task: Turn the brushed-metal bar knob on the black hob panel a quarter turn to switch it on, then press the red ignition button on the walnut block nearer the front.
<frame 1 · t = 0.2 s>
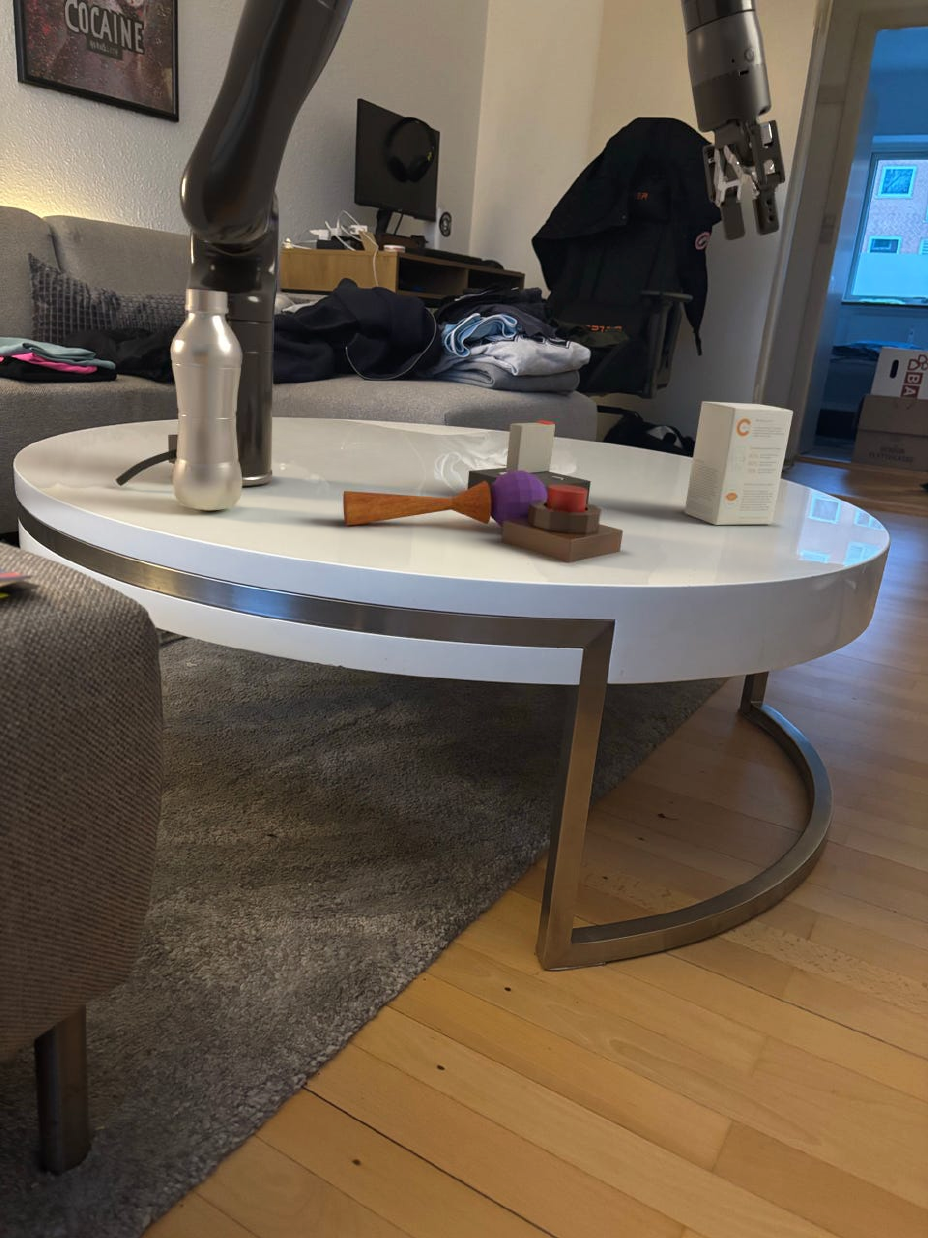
hand: (751, 236, 101), 31 cm above the table, tool tilted 20°, fingers open, 8 cm apart
small box: (726, 520, 106), on the table
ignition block: (560, 548, 86), on the table
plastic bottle: (207, 511, 89), on the table
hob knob: (530, 446, 107), point 6 cm above the table, hinge at 0.0°
ignition button: (566, 499, 84), point 5 cm above the table, slide at 0.2 cm
kendama: (445, 530, 90), on the table
hob panel: (527, 501, 106), on the table
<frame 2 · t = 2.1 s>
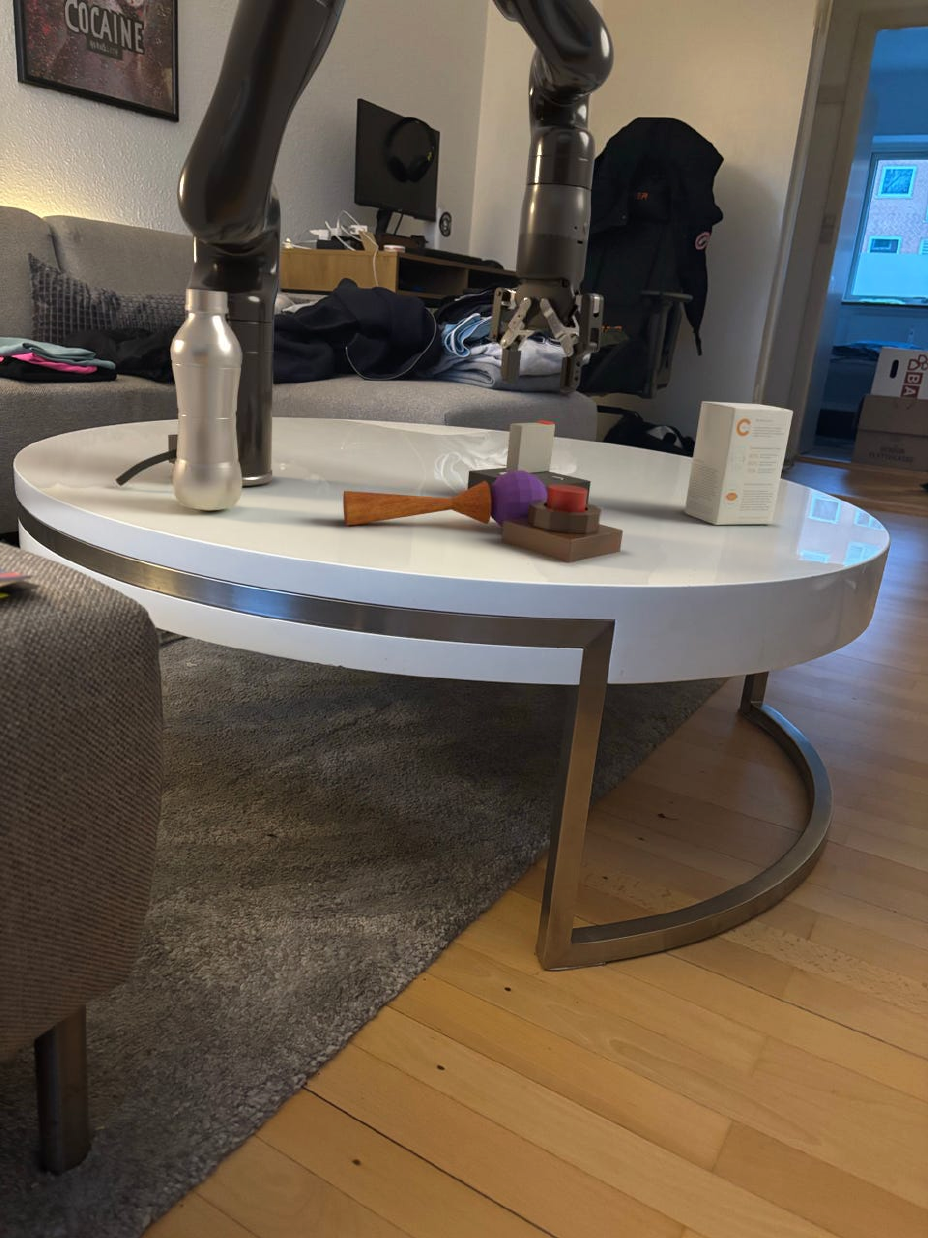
hand: (538, 387, 105), 13 cm above the table, tool pointing down, fingers open, 8 cm apart
nothing on the table moved.
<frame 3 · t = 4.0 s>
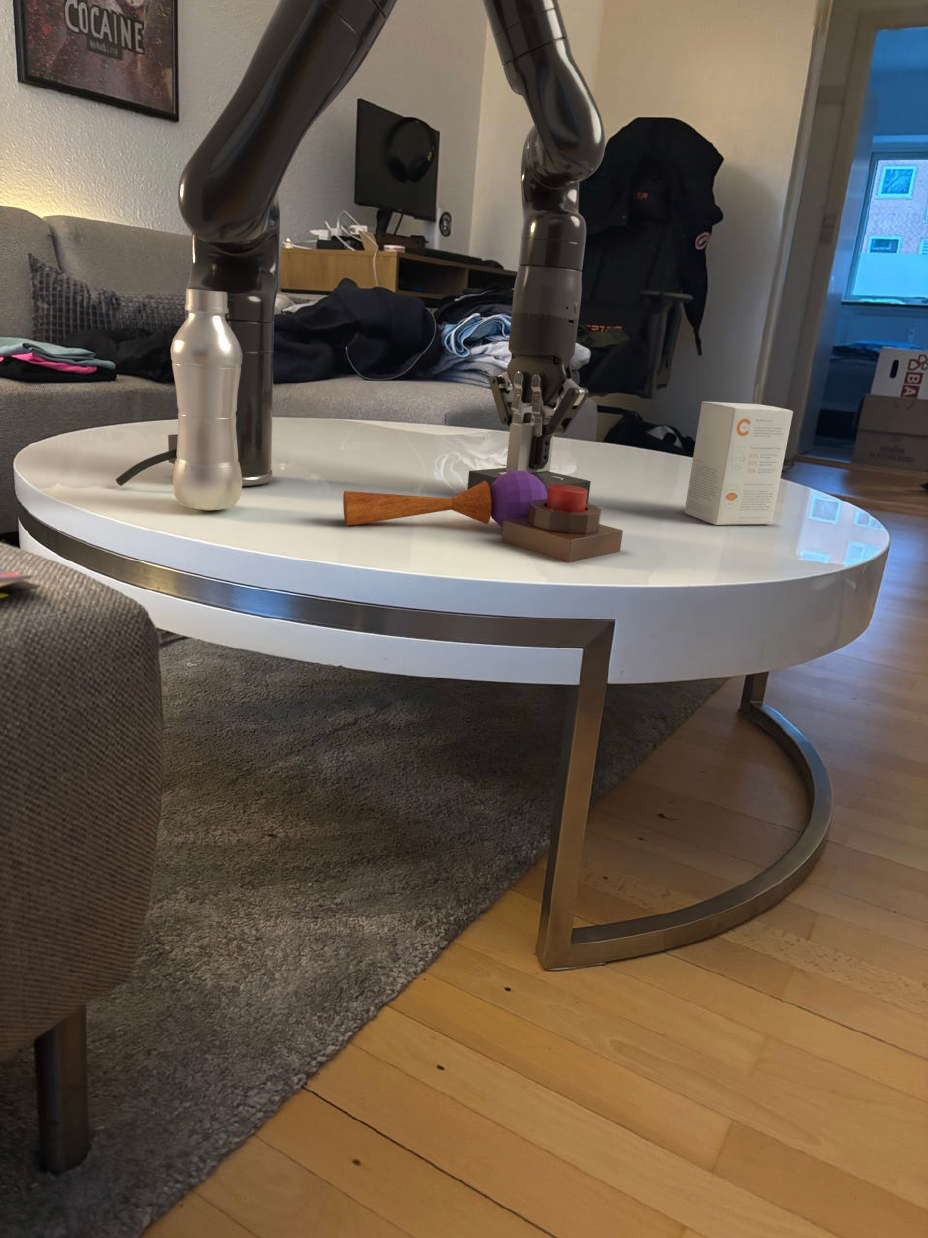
hand: (528, 466, 107), 4 cm above the table, tool pointing down, fingers closed on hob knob, 2 cm apart
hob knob: (530, 446, 107), point 6 cm above the table, hinge at 0.0°, touching gripper
everything else where it was.
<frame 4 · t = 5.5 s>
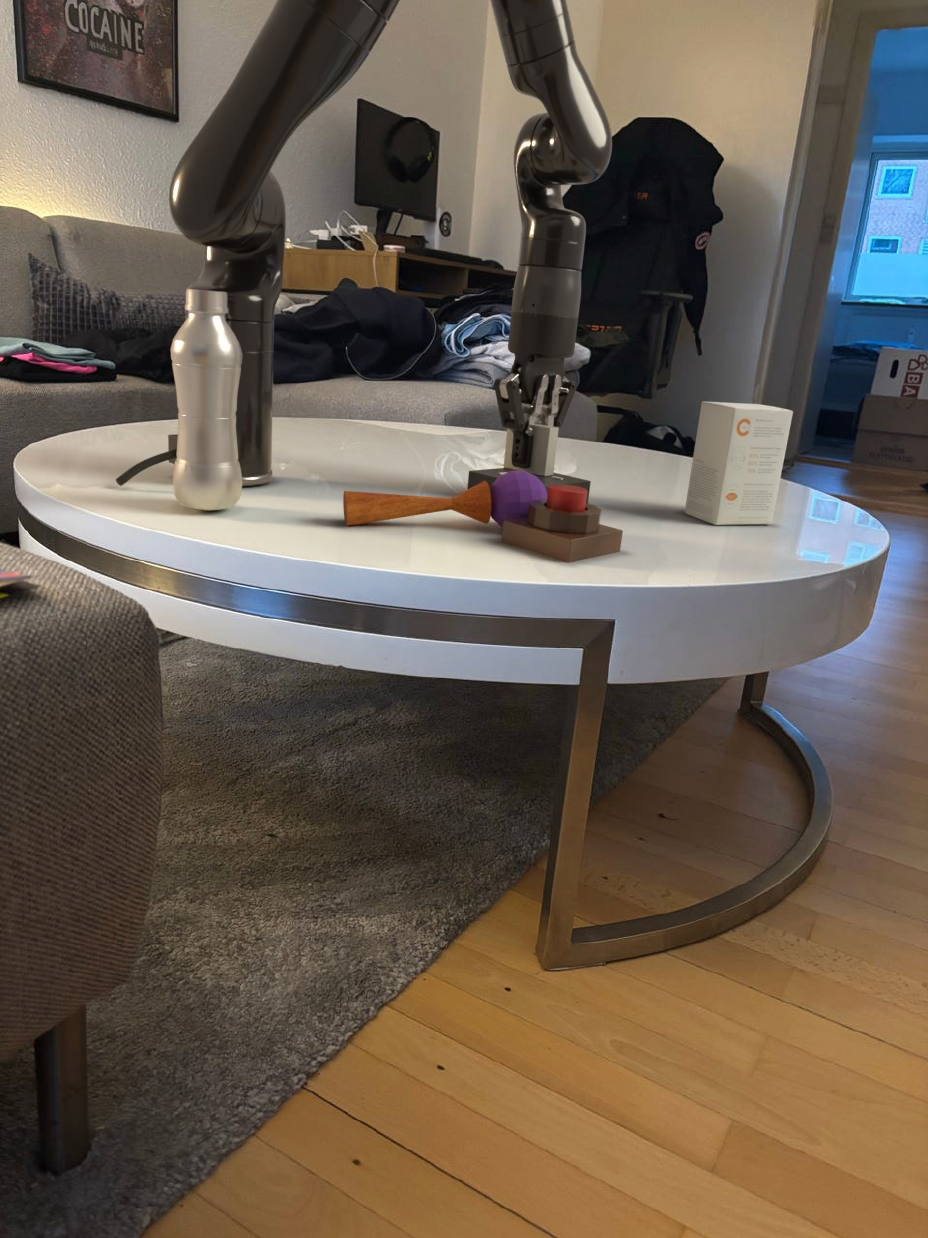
hand: (528, 465, 108), 4 cm above the table, tool pointing down, fingers closed
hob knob: (530, 446, 107), point 6 cm above the table, hinge at 94.7°
everything else where it was.
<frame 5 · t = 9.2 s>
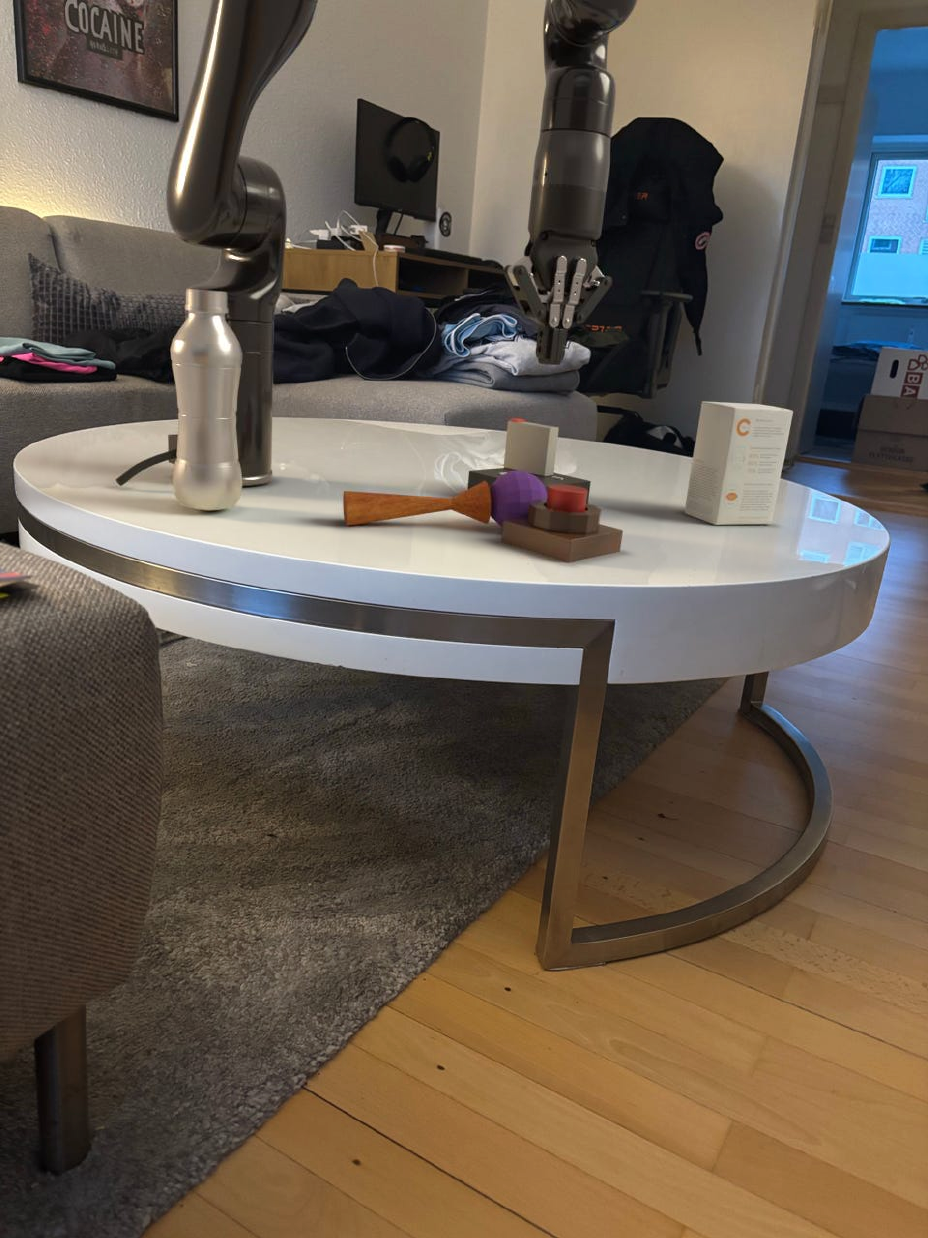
hand: (549, 363, 98), 16 cm above the table, tool pointing down, fingers closed
nothing on the table moved.
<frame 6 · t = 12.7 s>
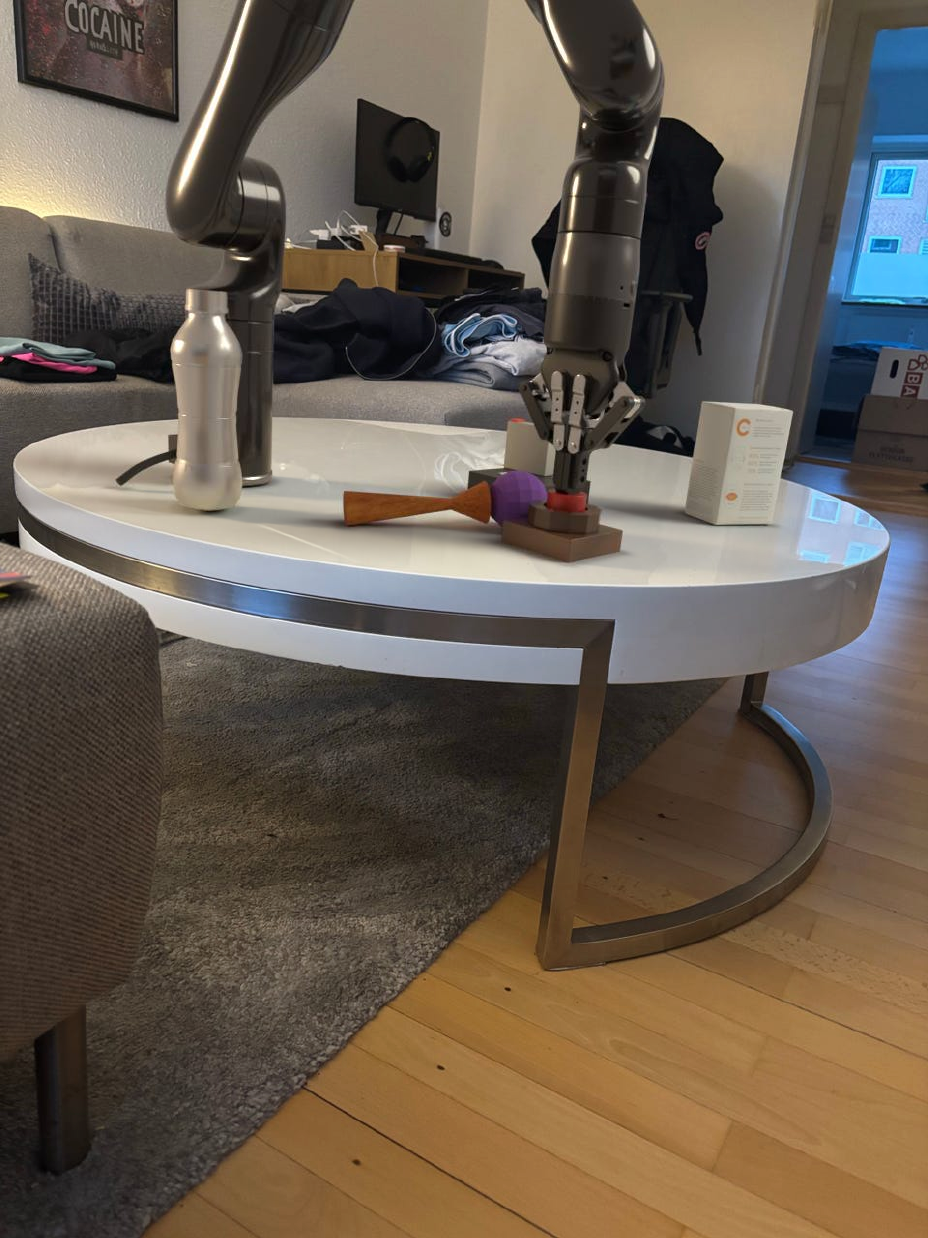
hand: (568, 492, 84), 5 cm above the table, tool pointing down, fingers closed
ignition button: (566, 503, 85), point 4 cm above the table, slide at -0.2 cm, touching gripper
everything else where it was.
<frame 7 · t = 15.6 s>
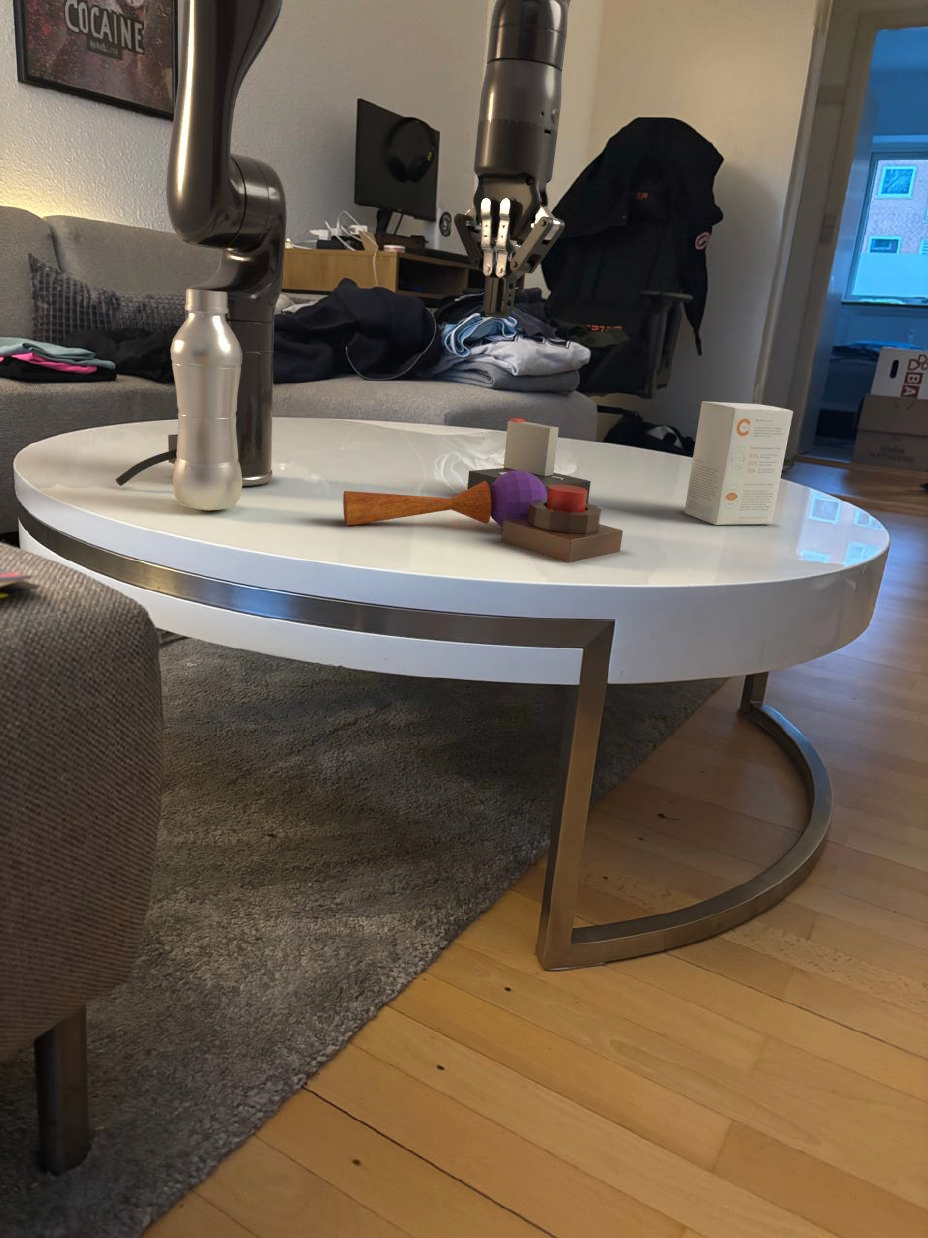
hand: (497, 317, 91), 20 cm above the table, tool pointing down, fingers closed
ignition button: (566, 499, 84), point 5 cm above the table, slide at 0.1 cm
everything else where it was.
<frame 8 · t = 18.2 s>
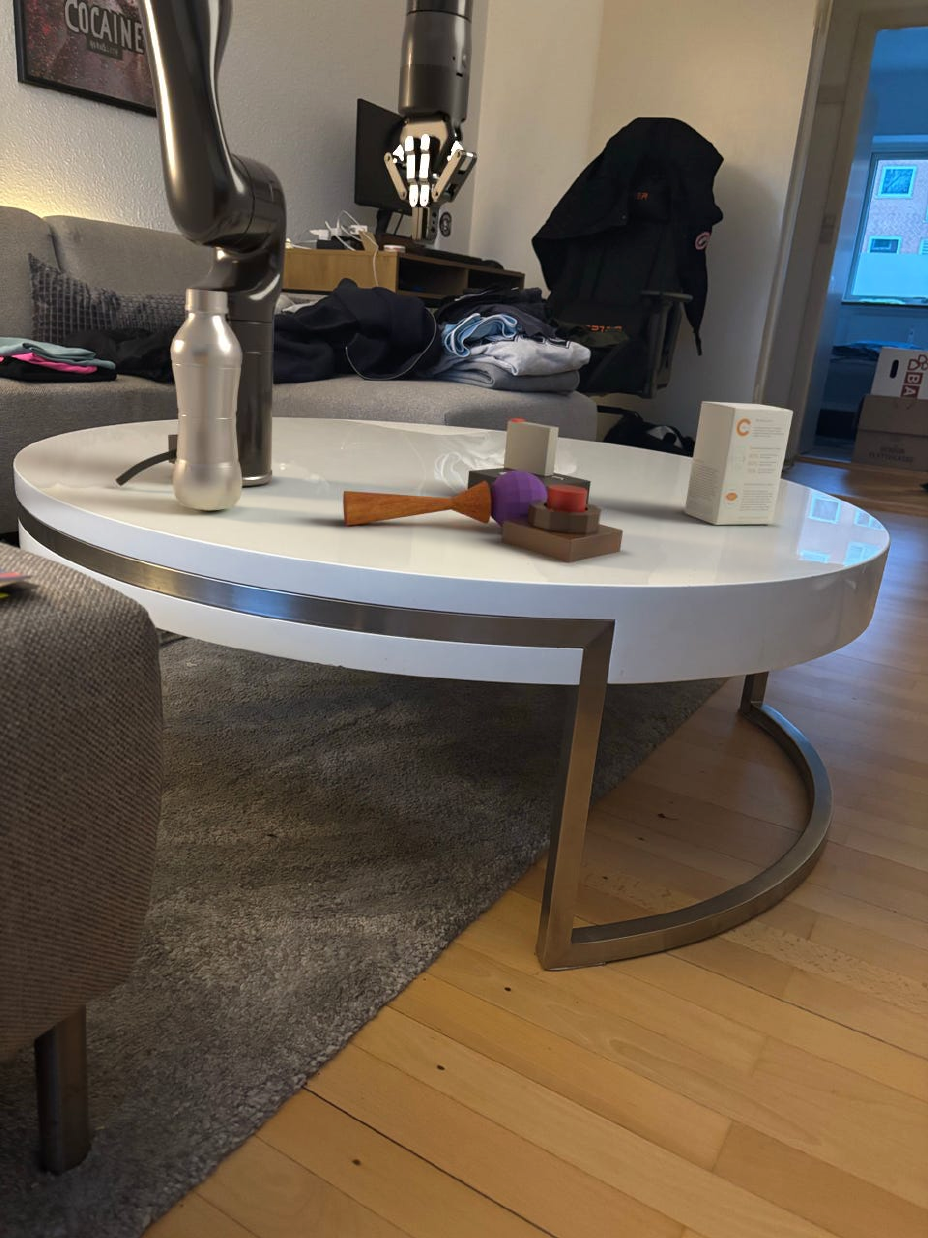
hand: (423, 243, 103), 27 cm above the table, tool pointing down, fingers closed
nothing on the table moved.
at the end: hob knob at +95° (first picture: +0°); ignition button pushed in 1.1 cm at the most during the clip, back to where it started at the end; ignition button slide at 0.1 cm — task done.
